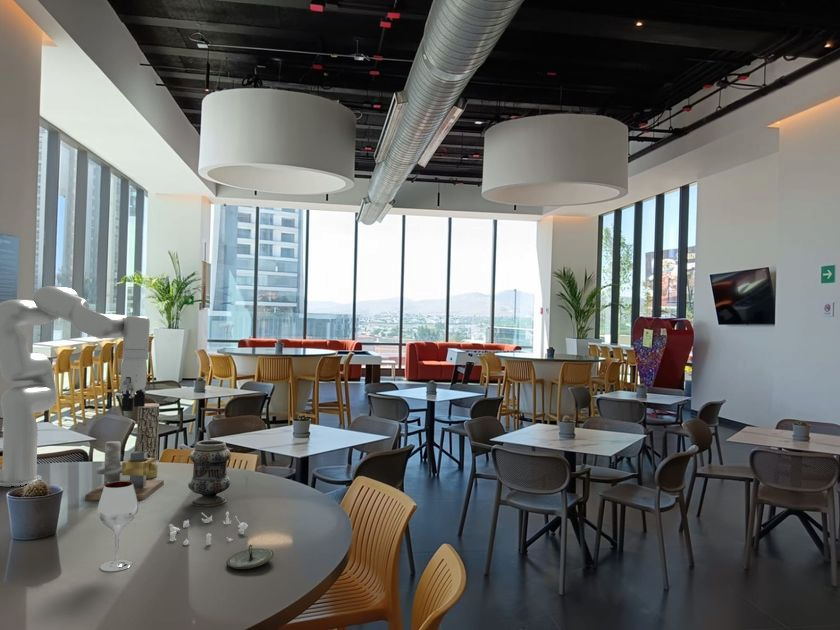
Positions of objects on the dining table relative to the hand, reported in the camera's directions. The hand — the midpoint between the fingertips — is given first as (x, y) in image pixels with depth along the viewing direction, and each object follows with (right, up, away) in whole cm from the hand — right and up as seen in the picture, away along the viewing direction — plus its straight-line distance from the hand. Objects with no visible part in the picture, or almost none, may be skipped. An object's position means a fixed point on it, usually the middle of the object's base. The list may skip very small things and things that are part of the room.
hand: (133, 408), depth 201 cm
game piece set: (+36, -27, -38) cm, 59 cm away
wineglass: (+24, -26, -61) cm, 70 cm away
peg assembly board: (-2, -26, -1) cm, 26 cm away
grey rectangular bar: (+2, -25, -1) cm, 25 cm away
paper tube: (-3, -27, +18) cm, 32 cm away
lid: (+53, -27, -58) cm, 83 cm away
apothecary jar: (+27, -27, -10) cm, 40 cm away
